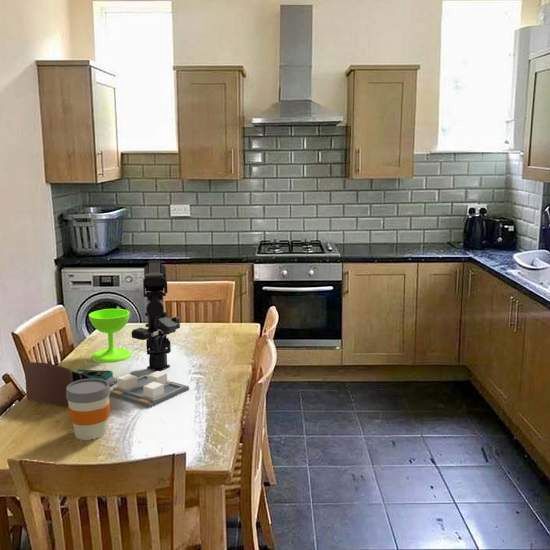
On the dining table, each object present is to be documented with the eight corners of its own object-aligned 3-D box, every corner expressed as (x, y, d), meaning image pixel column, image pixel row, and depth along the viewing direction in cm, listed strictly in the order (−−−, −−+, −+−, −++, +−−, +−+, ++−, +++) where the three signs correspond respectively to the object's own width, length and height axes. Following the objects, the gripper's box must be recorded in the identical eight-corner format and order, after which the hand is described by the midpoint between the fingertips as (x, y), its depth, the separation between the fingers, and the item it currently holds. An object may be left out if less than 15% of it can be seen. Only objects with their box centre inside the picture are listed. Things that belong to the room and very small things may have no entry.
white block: (128, 384, 218) (127, 373, 217) (137, 387, 215) (137, 376, 214) (117, 388, 214) (117, 378, 213) (126, 391, 211) (126, 380, 210)
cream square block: (154, 392, 210) (154, 381, 210) (164, 395, 208) (163, 384, 207) (143, 397, 206) (143, 386, 206) (153, 400, 204) (152, 389, 203)
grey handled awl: (116, 382, 222) (109, 383, 223) (114, 376, 222) (108, 377, 222) (96, 397, 209) (90, 398, 209) (94, 390, 208) (88, 391, 209)
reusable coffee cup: (89, 446, 175) (85, 397, 172) (59, 436, 181) (56, 388, 178) (121, 430, 185) (118, 383, 182) (92, 420, 192) (89, 375, 189)
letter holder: (72, 409, 201) (70, 368, 198) (26, 400, 208) (22, 360, 205) (92, 398, 210) (90, 358, 207) (47, 389, 217) (44, 351, 214)
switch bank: (148, 378, 228) (148, 373, 227) (189, 389, 216) (188, 384, 216) (108, 394, 212) (108, 389, 212) (149, 407, 201) (149, 402, 201)
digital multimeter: (107, 384, 223) (107, 376, 222) (68, 382, 224) (67, 375, 224) (114, 377, 230) (114, 369, 229) (76, 375, 231) (76, 368, 231)
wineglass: (139, 355, 253) (137, 313, 249) (106, 365, 241) (104, 321, 237) (116, 347, 263) (114, 306, 260) (83, 356, 251) (80, 314, 248)
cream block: (157, 381, 221) (157, 370, 220) (167, 384, 218) (166, 373, 217) (147, 385, 217) (147, 375, 216) (157, 388, 214) (156, 377, 213)
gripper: (152, 319, 205) (154, 363, 208) (190, 307, 220) (191, 349, 223) (129, 314, 211) (131, 357, 214) (167, 303, 226) (169, 343, 229)
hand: (157, 352), depth 220 cm, fingers closed
